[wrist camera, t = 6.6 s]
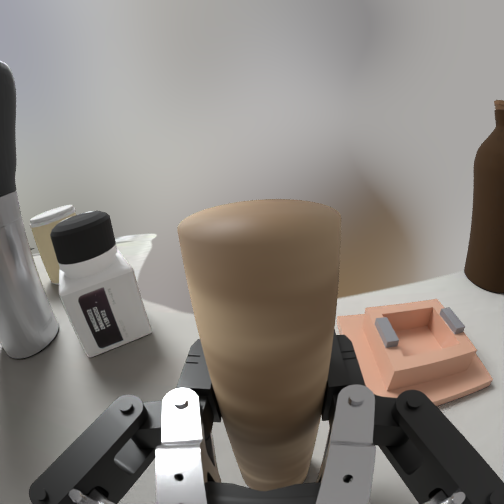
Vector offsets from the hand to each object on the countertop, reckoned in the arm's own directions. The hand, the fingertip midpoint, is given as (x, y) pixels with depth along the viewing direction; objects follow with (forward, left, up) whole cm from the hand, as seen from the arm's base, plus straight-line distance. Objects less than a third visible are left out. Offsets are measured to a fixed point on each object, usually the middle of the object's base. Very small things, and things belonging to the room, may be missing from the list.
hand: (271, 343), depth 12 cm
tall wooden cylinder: (0, -3, -8) cm, 9 cm away
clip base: (+12, +6, -9) cm, 16 cm away
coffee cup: (-37, +25, -9) cm, 46 cm away
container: (-18, +11, -9) cm, 23 cm away
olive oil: (+32, +17, -9) cm, 37 cm away
